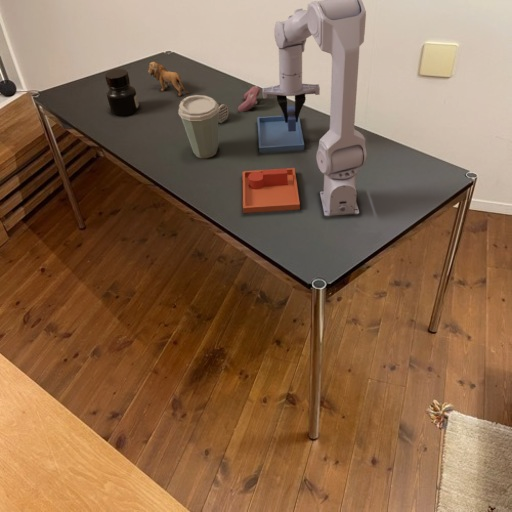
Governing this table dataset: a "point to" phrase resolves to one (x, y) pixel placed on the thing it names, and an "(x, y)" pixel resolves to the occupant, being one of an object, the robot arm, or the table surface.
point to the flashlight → (222, 111)
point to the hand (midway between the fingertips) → (291, 120)
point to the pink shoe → (250, 99)
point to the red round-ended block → (268, 178)
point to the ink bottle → (121, 93)
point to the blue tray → (278, 135)
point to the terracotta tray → (271, 195)
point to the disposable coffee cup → (201, 124)
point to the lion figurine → (165, 77)
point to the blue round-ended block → (291, 118)
